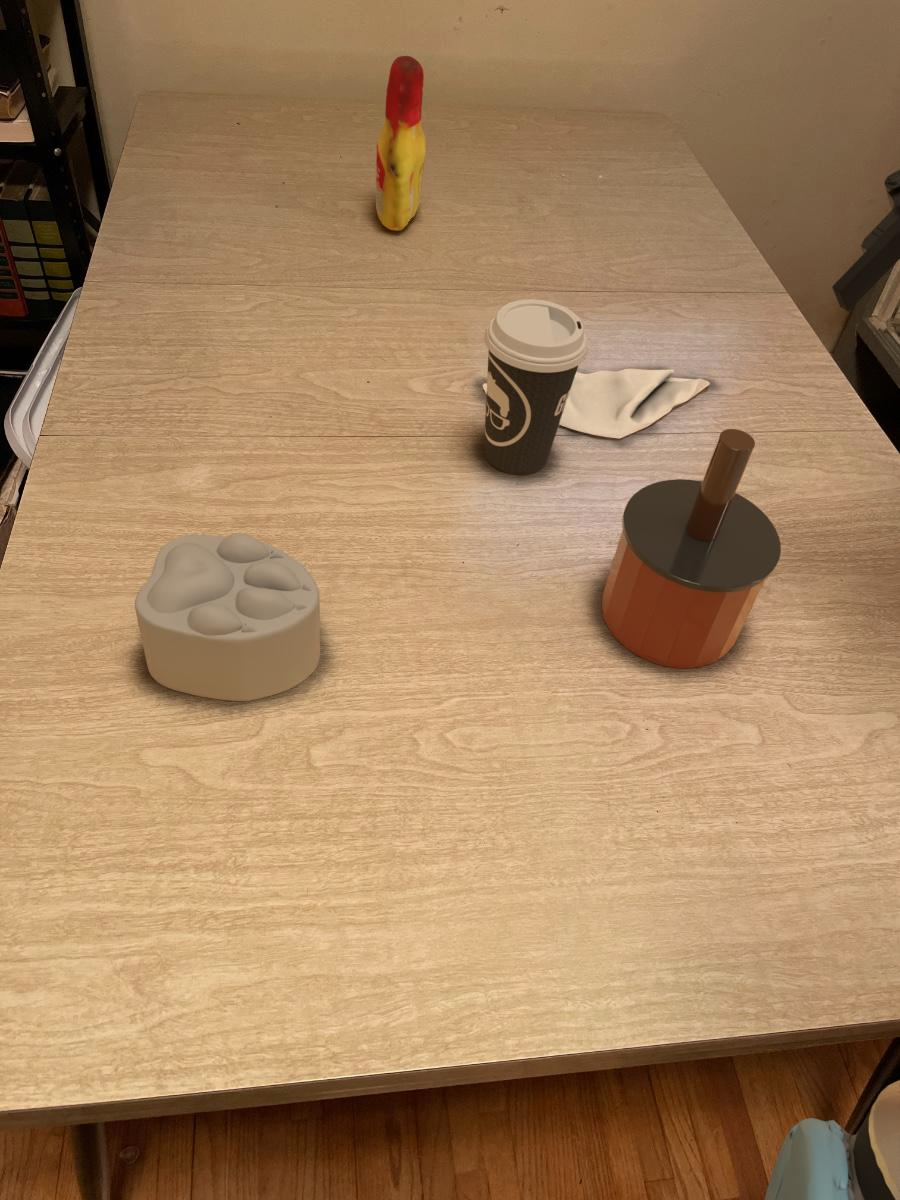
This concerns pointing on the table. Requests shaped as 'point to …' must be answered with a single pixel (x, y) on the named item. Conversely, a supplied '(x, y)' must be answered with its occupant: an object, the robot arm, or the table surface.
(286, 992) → the table surface
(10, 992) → the table surface
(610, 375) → the cloth
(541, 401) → the coffee cup
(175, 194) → the table surface
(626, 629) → the pot
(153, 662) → the lumpy-topped squat cylinder
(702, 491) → the lid
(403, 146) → the bottle
